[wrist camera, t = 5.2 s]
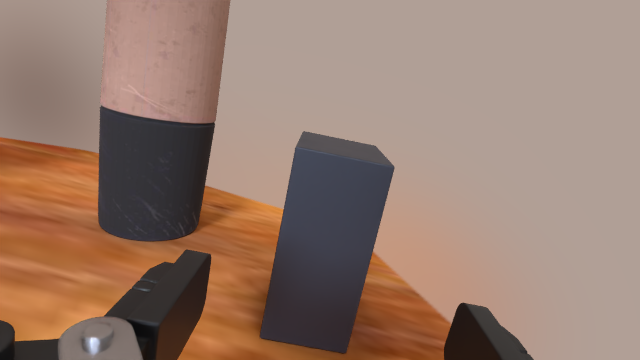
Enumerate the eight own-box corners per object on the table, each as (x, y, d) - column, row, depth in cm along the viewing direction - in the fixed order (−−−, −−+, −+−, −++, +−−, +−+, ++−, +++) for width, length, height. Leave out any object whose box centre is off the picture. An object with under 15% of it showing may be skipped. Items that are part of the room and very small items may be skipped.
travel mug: (67, 221, 26) (79, -97, 21) (147, 197, 33) (169, -44, 28) (156, 254, 24) (190, -86, 19) (220, 221, 31) (256, -32, 26)
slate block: (259, 338, 18) (295, 146, 16) (274, 278, 24) (303, 130, 22) (346, 354, 18) (395, 166, 16) (340, 290, 24) (376, 145, 22)
